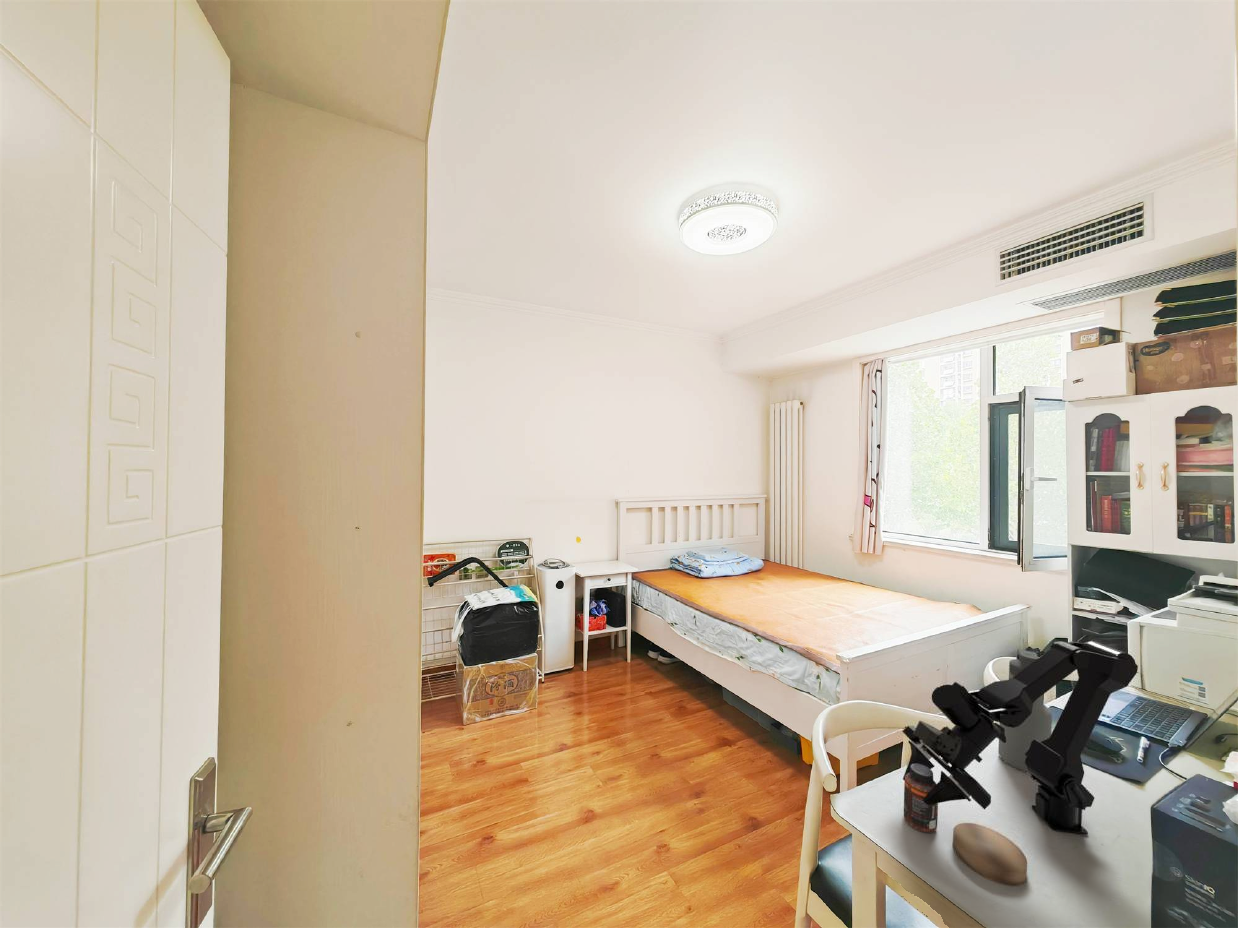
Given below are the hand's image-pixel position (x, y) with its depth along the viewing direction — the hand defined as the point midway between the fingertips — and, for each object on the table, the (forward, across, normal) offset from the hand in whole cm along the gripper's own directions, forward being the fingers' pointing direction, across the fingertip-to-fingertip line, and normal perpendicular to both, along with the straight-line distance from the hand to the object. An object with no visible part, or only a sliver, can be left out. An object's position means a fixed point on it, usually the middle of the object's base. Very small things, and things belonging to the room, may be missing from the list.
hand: (914, 791), depth 96 cm
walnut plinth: (-1, +9, +11) cm, 14 cm away
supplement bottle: (+4, 0, +6) cm, 7 cm away
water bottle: (-24, -19, +34) cm, 46 cm away
